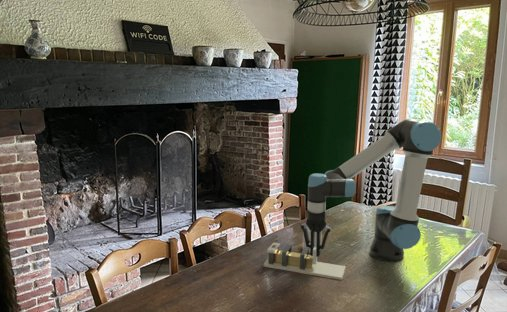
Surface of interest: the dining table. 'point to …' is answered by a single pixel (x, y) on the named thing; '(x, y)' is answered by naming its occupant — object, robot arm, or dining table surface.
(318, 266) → the slab
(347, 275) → the dining table surface
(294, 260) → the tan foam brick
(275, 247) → the collars
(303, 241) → the mug
